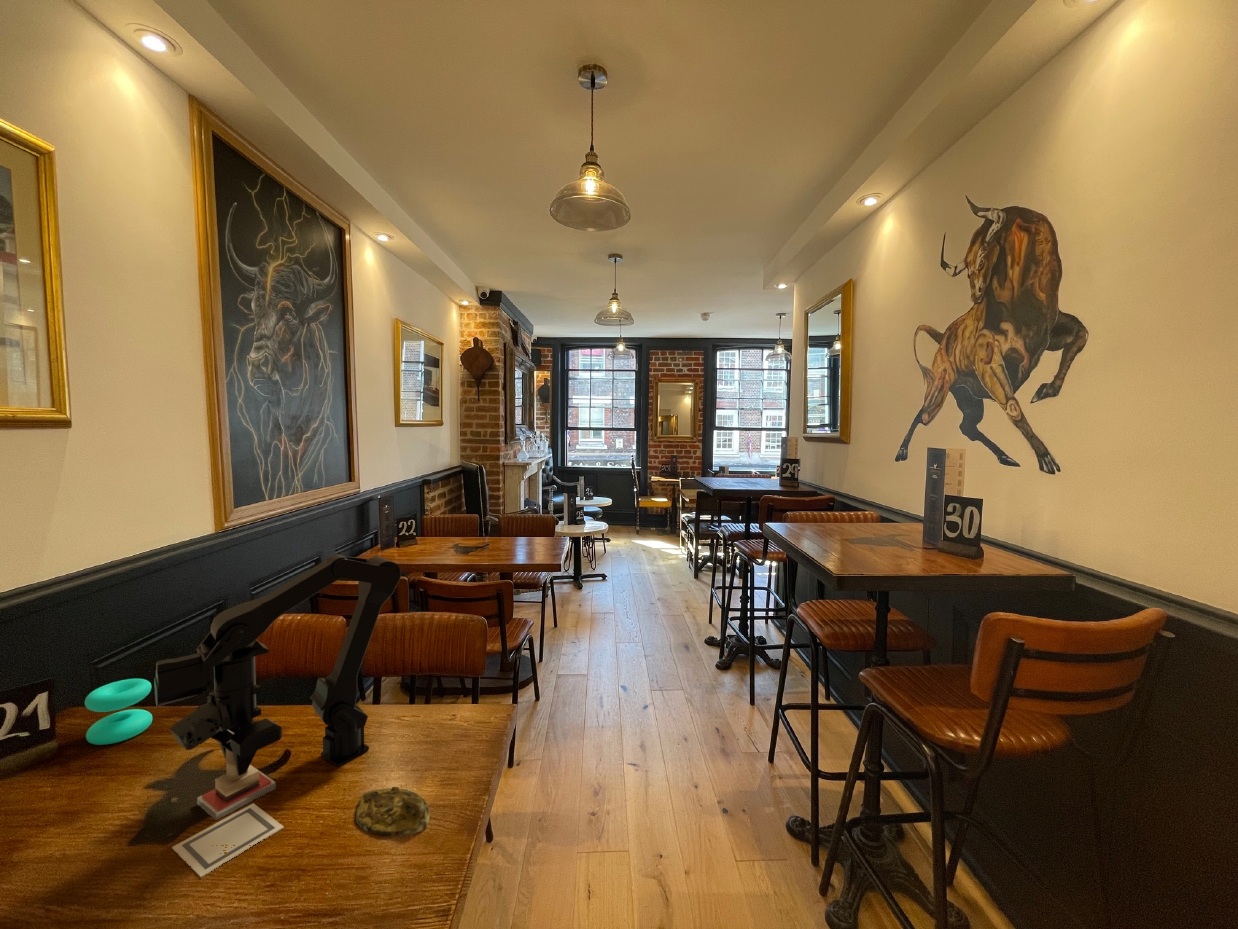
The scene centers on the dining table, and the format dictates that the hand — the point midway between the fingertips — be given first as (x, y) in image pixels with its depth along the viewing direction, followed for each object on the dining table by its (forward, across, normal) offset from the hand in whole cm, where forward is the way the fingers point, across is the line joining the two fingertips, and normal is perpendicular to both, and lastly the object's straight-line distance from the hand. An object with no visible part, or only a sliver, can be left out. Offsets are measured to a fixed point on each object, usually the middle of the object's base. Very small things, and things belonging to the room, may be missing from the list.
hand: (237, 770), depth 89 cm
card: (+5, +10, -5) cm, 12 cm away
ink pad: (+5, 0, 0) cm, 5 cm away
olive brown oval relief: (+5, +26, +12) cm, 29 cm away
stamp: (+3, 0, 0) cm, 3 cm away
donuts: (+5, -42, -4) cm, 42 cm away
